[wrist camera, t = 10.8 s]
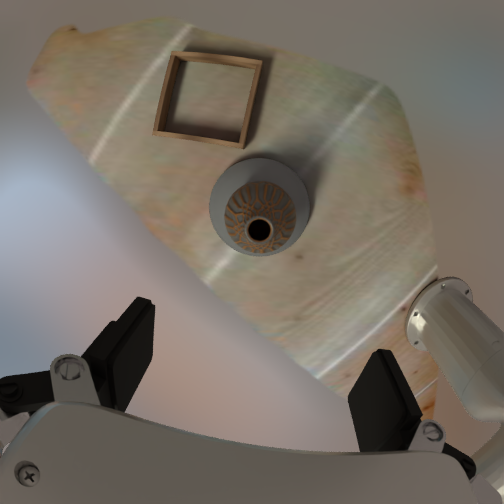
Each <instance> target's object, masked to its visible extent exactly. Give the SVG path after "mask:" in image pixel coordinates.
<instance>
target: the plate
mask: <svg viewBox="0 0 504 504" xmlns="http://www.w3.org/2000/svg"><path fill="white" fill-rule="evenodd" d="M253 181H268V182H271V183H274V184H276V185H278V186H280V187H281V188H283V189H284V190H285V191H286V192H287V193H288V195H289V196H290V197H291V199H292V201H293V203H294V206H295V209H296V225H295V229H294V231H293V233H292V235H291V237H290V238H289V240H288V241H287V242H286V243H285V244H284V245H283V246H281V247H280V248H278V249H277V250H274V251H272V252H268V253H252V252H249V251H246V250H244V249H242V248H241V247H239V246H238V245H237V244H236V243H235V242H234V241H233V240H232V239H231V237H230V236H229V234H228V232H227V229H226V226H225V220H224V213H225V208H226V205H227V202H228V200H229V198H230V197H231V195H232V194H233V193H234V192H235V191H236V190H237V189H238V188H240V187H241V186H243V185H245V184H247V183H249V182H253ZM309 211H310V204H309V197H308V193H307V190H306V188H305V186H304V184H303V182H302V181H301V179H300V178H299V176H298V175H297V174H296V173H295V172H294V171H293V170H291V169H290V168H289V167H287V166H286V165H284V164H282V163H280V162H278V161H275V160H271V159H266V158H253V159H248V160H244V161H241V162H239V163H236V164H235V165H233V166H231V167H230V168H229V169H227V170H226V171H225V172H224V173H223V174H222V175H221V176H220V177H219V179H218V180H217V182H216V184H215V185H214V187H213V190H212V193H211V197H210V203H209V212H210V218H211V221H212V224H213V226H214V229H215V231H216V232H217V234H218V235H219V237H220V238H221V239H222V240H223V241H224V242H225V243H226V244H227V245H228V246H230V247H231V248H233V249H234V250H236V251H238V252H241V253H243V254H247V255H251V256H269V255H273V254H276V253H279V252H281V251H283V250H285V249H287V248H288V247H290V246H291V245H292V244H293V243H294V242H296V241H297V239H298V238H299V237H300V236H301V234H302V233H303V231H304V229H305V227H306V225H307V222H308V218H309Z"/></svg>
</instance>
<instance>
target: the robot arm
mask: <svg viewBox="0 0 504 504" xmlns="http://www.w3.org/2000/svg"><path fill="white" fill-rule="evenodd" d="M154 318H155V305H153V304H152V303H151V300H149V299H145V298H142V297H137V298H136V299H135V300H134V301H133V302H132V303H131V305H130V306H129V307H128V308H127V309H126V311H125V312H124V313H123V314H122V315H121V316H120V318H119V319H118V320H117V321H111V322H110V323H109V324H108V325H107V326H106V327H105V328H104V329H103V331H102V332H101V333H100V334H99V335H98V337H97V338H96V339H95V340H94V341H93V343H92V344H91V345H90V346H89V347H88V349H87V350H86V351H85V352H84V354H83V355H82V356H81V357H80V356H77V355H73V354H65V355H61V356H59V357H57V358H55V359H54V361H52V363H51V365H50V370H49V371H42V372H35V373H28V374H20V375H12V376H6V377H3V378H1V379H0V504H504V332H503V331H502V330H501V329H500V328H499V327H498V326H497V325H496V324H495V323H494V322H493V321H492V320H491V319H489V318H488V316H486V315H485V314H484V313H483V312H482V311H481V310H480V309H479V308H478V307H477V306H476V305H475V304H473V298H472V292H471V289H470V288H469V286H468V285H467V284H466V283H465V282H464V281H463V280H461V279H459V278H456V277H446V278H442V279H439V280H437V281H435V282H434V283H432V284H431V285H429V286H428V287H427V288H426V289H424V290H423V291H422V292H421V293H420V295H419V296H418V297H417V298H416V300H415V301H414V303H413V304H412V306H411V308H410V310H409V312H408V315H407V318H406V324H405V333H406V336H407V339H408V340H409V342H410V344H411V345H412V346H413V347H414V348H416V349H418V350H421V351H428V352H429V353H430V355H431V356H432V358H433V359H434V361H435V362H436V364H437V365H438V367H439V368H440V370H441V371H442V373H443V374H444V376H445V377H446V379H447V380H448V382H449V384H450V385H451V387H452V388H453V390H454V392H455V393H456V395H457V397H458V398H459V400H460V401H461V403H462V405H463V406H464V408H465V410H466V411H467V412H468V414H469V415H470V416H471V417H472V418H474V419H476V420H478V421H482V422H499V423H501V427H500V429H499V430H498V431H497V432H496V433H495V434H494V435H493V436H492V437H491V439H490V440H489V441H488V442H487V443H485V444H484V445H483V446H482V447H481V448H480V449H479V450H478V451H476V452H475V453H474V454H473V455H472V456H471V457H469V456H467V455H465V454H464V453H462V452H461V451H459V450H457V449H456V448H454V447H452V446H451V445H449V444H447V443H445V440H446V432H445V430H444V428H443V427H442V426H441V425H440V424H439V423H438V422H436V421H434V420H430V419H426V420H423V421H421V419H420V418H421V417H422V415H423V414H422V412H421V410H420V408H419V406H418V403H417V401H416V399H415V397H414V395H413V393H412V391H411V389H410V387H409V385H408V383H407V381H406V379H405V377H404V375H403V373H402V371H401V369H400V367H399V365H398V363H397V361H396V359H395V357H394V355H393V353H392V352H391V350H385V349H378V350H377V351H376V352H373V353H372V355H371V357H370V359H369V360H368V362H367V364H366V366H365V367H364V369H363V371H362V373H361V374H360V376H359V378H358V380H357V381H356V383H355V385H354V386H353V388H352V390H351V391H350V393H349V395H348V403H349V407H350V411H351V415H352V419H353V424H354V428H355V432H356V436H357V440H358V445H359V449H360V452H321V451H305V450H292V449H282V448H274V447H266V446H258V445H252V444H246V443H240V442H234V441H229V440H224V439H219V438H214V437H209V436H205V435H201V434H196V433H192V432H188V431H185V430H181V429H177V428H174V427H169V426H166V425H163V424H159V423H156V422H153V421H149V420H146V419H143V418H140V417H137V416H134V415H130V414H127V413H124V412H125V410H126V408H127V406H128V405H129V403H130V401H131V399H132V397H133V395H134V393H135V391H136V389H137V387H138V385H139V383H140V381H141V379H142V377H143V375H144V374H145V372H146V370H147V368H148V366H149V364H150V362H151V360H152V356H153V336H154ZM8 443H10V444H9V446H8V447H7V448H6V450H5V452H4V453H3V455H2V450H3V448H4V447H5V446H6V445H7V444H8Z"/></svg>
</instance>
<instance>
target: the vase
mask: <svg viewBox="0 0 504 504" xmlns="http://www.w3.org/2000/svg"><path fill="white" fill-rule="evenodd" d="M224 220H225V226H226V229H227V232H228V234H229V236H230V237H231V239H232V240H233V241H234V242H235V243H236V244H237V245H238V246H239V247H241V248H242V249H244V250H246V251H249V252H252V253H268V252H272V251H274V250H277V249H278V248H280V247H281V246H283V245H284V244H285V243H286V242H287V241H288V240H289V238H290V237H291V235H292V233H293V231H294V229H295V225H296V209H295V206H294V203H293V201H292V199H291V197H290V196H289V195H288V193H287V192H286V191H285V190H284V189H283V188H281V187H280V186H278V185H276V184H274V183H271V182H268V181H253V182H249V183H247V184H245V185H243V186H241V187H240V188H238V189H237V190H236V191H235V192H234V193H233V194H232V195H231V197H230V198H229V200H228V202H227V205H226V208H225V213H224Z"/></svg>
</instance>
